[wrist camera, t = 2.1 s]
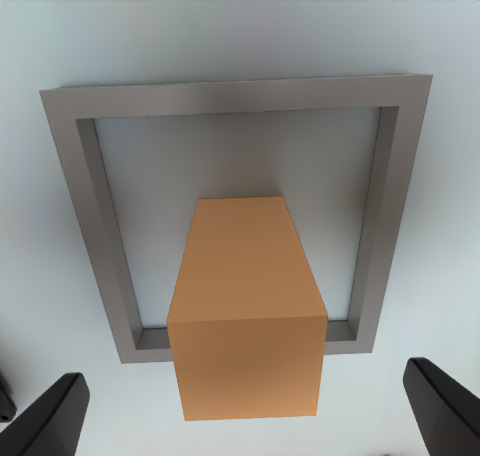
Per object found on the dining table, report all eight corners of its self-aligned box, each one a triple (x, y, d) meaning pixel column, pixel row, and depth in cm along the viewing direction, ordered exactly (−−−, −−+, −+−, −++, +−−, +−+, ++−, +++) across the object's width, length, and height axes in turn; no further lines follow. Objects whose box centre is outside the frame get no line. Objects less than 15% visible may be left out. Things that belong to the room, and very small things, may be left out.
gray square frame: (129, 342, 19) (121, 363, 18) (59, 88, 13) (39, 90, 11) (361, 332, 19) (371, 352, 18) (411, 73, 13) (432, 75, 11)
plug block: (205, 269, 17) (184, 421, 10) (197, 199, 15) (166, 322, 8) (280, 266, 17) (316, 415, 10) (282, 195, 15) (328, 315, 8)
